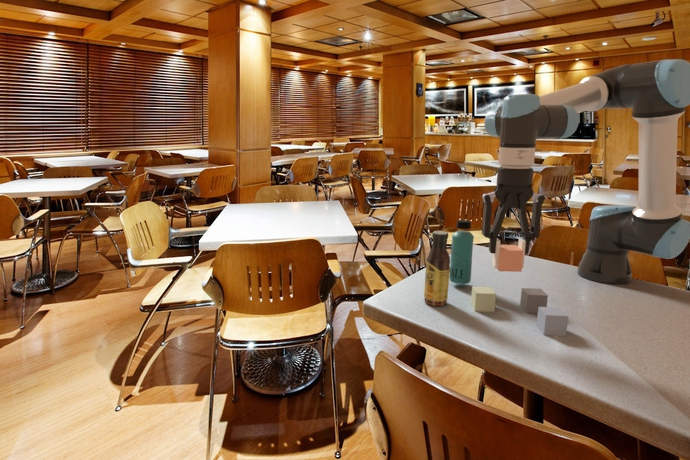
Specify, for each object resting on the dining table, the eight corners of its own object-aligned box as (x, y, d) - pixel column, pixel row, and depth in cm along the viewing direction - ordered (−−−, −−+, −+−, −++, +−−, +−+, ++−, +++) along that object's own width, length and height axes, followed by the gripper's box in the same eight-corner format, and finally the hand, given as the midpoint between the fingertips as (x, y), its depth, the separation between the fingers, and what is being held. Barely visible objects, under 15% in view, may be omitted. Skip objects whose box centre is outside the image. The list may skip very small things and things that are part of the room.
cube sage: (489, 304, 124) (491, 287, 122) (494, 312, 119) (495, 293, 118) (470, 304, 124) (472, 286, 123) (474, 311, 119) (476, 293, 118)
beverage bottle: (468, 282, 141) (473, 218, 136) (472, 289, 134) (477, 223, 130) (447, 281, 142) (451, 218, 137) (449, 288, 135) (454, 222, 131)
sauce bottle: (421, 299, 127) (424, 229, 122) (443, 298, 127) (447, 228, 123) (427, 308, 121) (431, 234, 116) (450, 307, 121) (455, 234, 117)
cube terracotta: (515, 265, 110) (516, 244, 109) (521, 271, 105) (523, 250, 104) (493, 264, 110) (495, 244, 109) (499, 271, 105) (500, 250, 104)
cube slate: (557, 327, 110) (560, 307, 109) (566, 336, 105) (568, 315, 104) (536, 326, 110) (538, 306, 109) (543, 335, 106) (545, 315, 104)
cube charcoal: (539, 306, 123) (540, 288, 122) (545, 313, 118) (547, 295, 117) (519, 305, 123) (521, 288, 122) (525, 313, 118) (527, 294, 117)
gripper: (478, 168, 99) (471, 270, 104) (563, 168, 98) (553, 272, 103) (471, 165, 106) (465, 261, 111) (550, 165, 105) (541, 262, 110)
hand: (507, 266), depth 107 cm, fingers closed on cube terracotta, 5 cm apart
